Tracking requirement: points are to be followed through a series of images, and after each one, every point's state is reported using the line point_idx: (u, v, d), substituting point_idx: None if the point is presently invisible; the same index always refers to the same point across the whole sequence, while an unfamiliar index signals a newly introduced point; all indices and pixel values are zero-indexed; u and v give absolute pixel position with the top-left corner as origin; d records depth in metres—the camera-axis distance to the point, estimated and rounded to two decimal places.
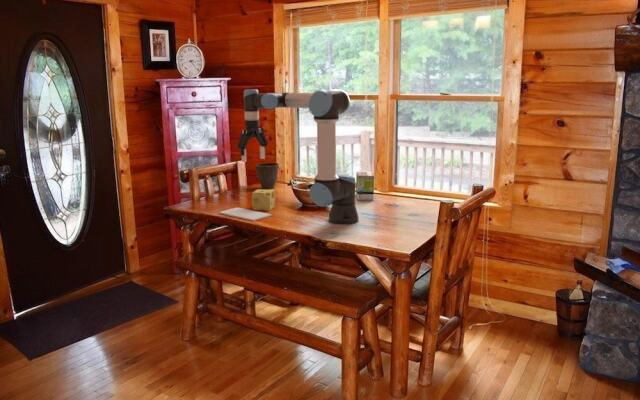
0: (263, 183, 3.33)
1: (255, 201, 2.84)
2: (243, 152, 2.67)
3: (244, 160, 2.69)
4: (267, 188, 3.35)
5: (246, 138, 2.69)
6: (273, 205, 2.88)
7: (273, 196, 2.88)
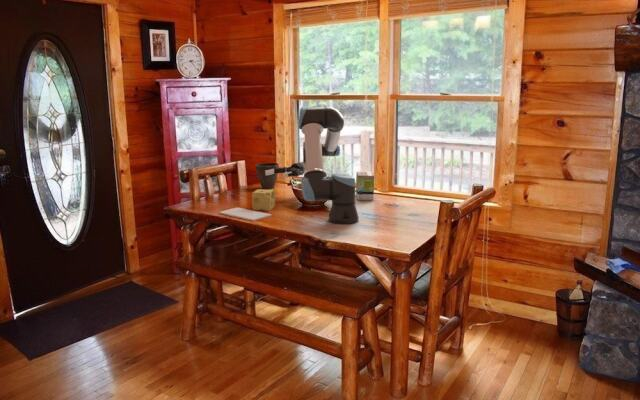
0: (263, 183, 3.33)
1: (255, 201, 2.84)
2: (270, 170, 2.99)
3: None
4: (267, 188, 3.35)
5: None
6: (273, 205, 2.88)
7: (273, 196, 2.88)
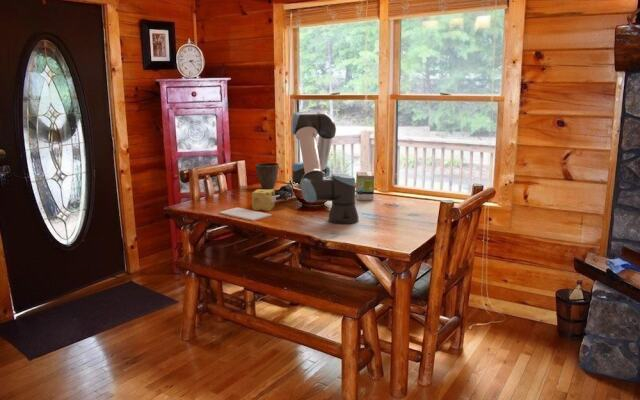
0: (263, 183, 3.33)
1: (255, 200, 2.84)
2: None
3: None
4: (267, 188, 3.35)
5: None
6: (273, 205, 2.88)
7: None
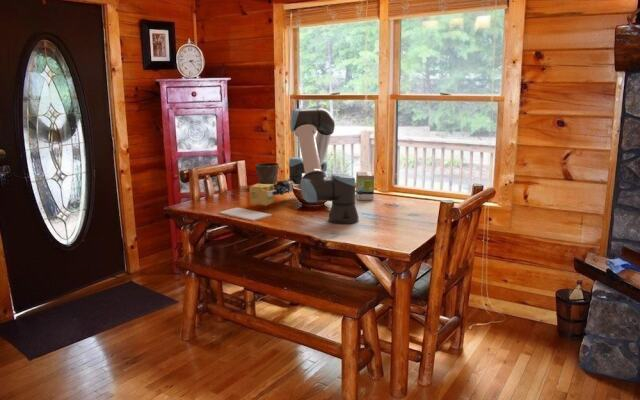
0: (263, 183, 3.33)
1: (253, 195, 2.83)
2: None
3: None
4: None
5: None
6: (272, 200, 2.86)
7: None
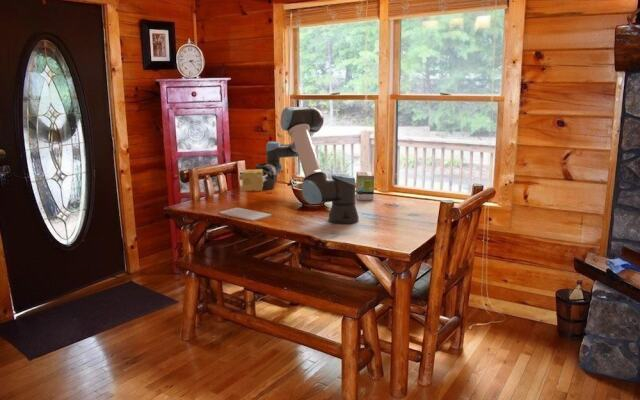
0: (263, 183, 3.33)
1: (245, 181, 2.73)
2: None
3: None
4: (267, 188, 3.35)
5: None
6: (262, 185, 2.79)
7: None
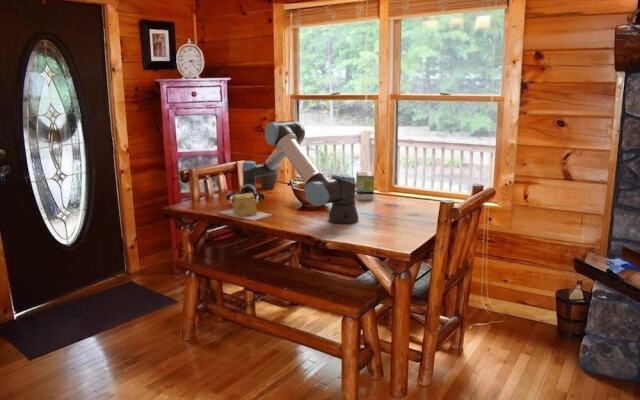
0: (263, 183, 3.33)
1: (239, 206, 2.67)
2: (230, 197, 2.73)
3: None
4: (267, 188, 3.35)
5: None
6: None
7: None
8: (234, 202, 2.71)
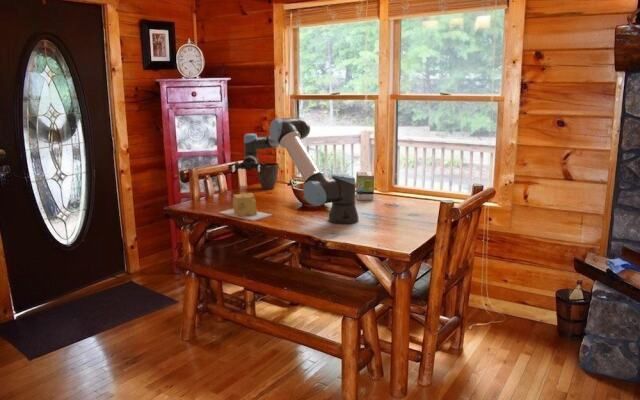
0: (263, 183, 3.33)
1: (239, 206, 2.67)
2: (232, 166, 2.78)
3: None
4: (267, 188, 3.35)
5: None
6: None
7: None
8: (234, 202, 2.71)
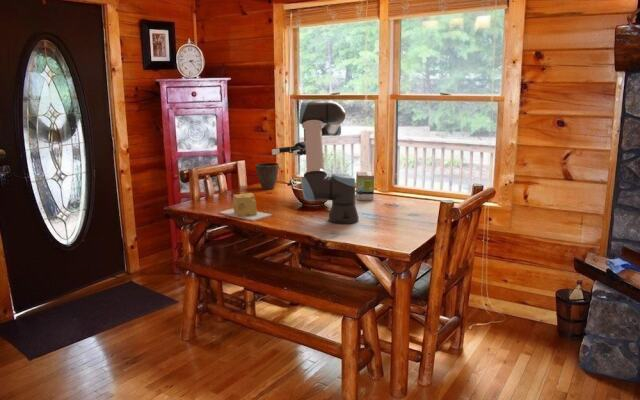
0: (263, 183, 3.33)
1: (239, 206, 2.67)
2: None
3: None
4: (267, 188, 3.35)
5: None
6: None
7: None
8: (234, 202, 2.71)
